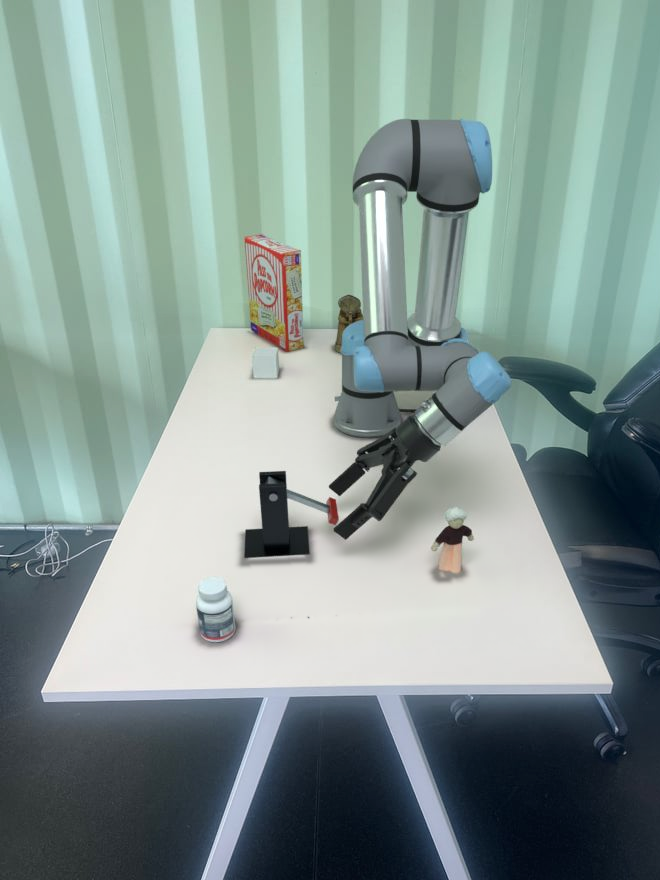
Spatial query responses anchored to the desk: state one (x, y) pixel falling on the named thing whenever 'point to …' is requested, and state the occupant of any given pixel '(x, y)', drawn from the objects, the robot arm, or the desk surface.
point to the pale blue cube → (265, 362)
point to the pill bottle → (215, 610)
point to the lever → (312, 502)
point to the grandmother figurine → (452, 540)
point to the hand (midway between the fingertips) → (336, 511)
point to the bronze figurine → (347, 316)
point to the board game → (275, 291)
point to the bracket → (275, 523)
